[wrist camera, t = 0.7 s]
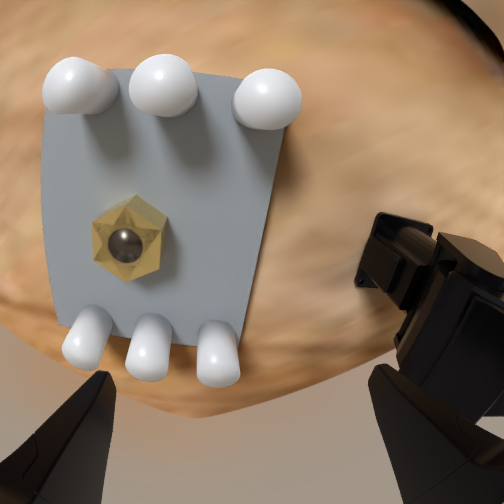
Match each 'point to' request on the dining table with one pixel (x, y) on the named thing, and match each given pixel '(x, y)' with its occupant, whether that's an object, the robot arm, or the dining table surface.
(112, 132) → the board
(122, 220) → the nut
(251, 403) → the dining table surface
